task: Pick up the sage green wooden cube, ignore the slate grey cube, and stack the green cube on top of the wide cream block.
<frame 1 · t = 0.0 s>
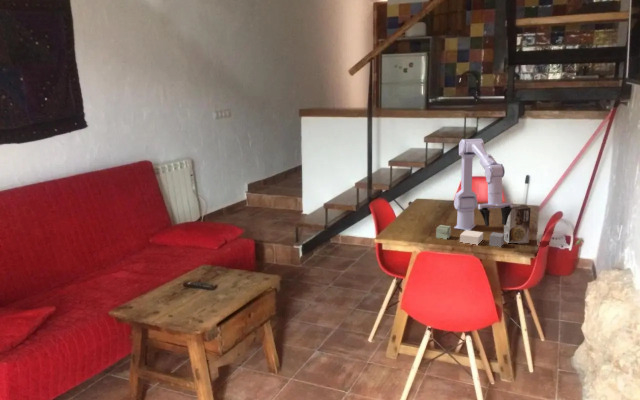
hand: (495, 225, 214), 11 cm above the table, tool pointing down, fingers open, 7 cm apart
grey cube: (496, 245, 221), on the table
green cube: (443, 237, 234), on the table
coffee box: (515, 241, 225), on the table
cream base block: (471, 242, 227), on the table
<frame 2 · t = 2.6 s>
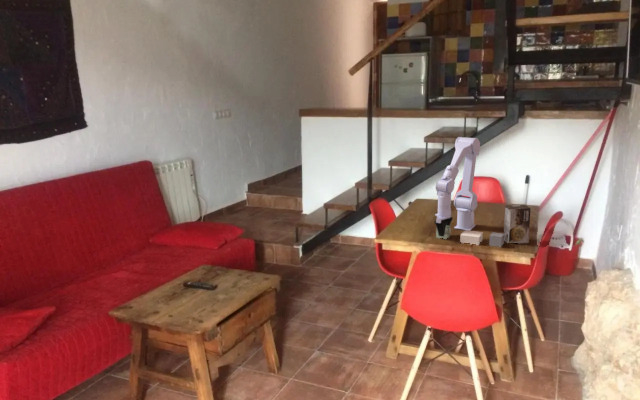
hand: (443, 234, 233), 1 cm above the table, tool pointing down, fingers closed on green cube, 5 cm apart
green cube: (443, 237, 234), on the table, touching gripper
everything else where it was.
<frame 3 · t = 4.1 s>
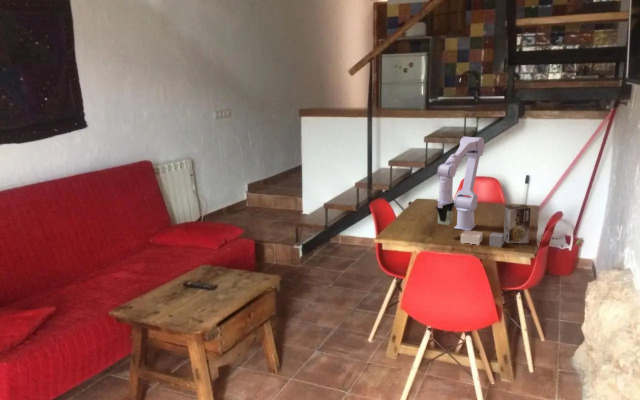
hand: (444, 219, 231), 8 cm above the table, tool pointing down, fingers closed on green cube, 5 cm apart
green cube: (444, 222, 232), point 7 cm above the table, touching gripper
everything else where it was.
when the fingers open (6 cm above the table, at t = 5.8 s): green cube drops 1 cm, resting on cream base block.
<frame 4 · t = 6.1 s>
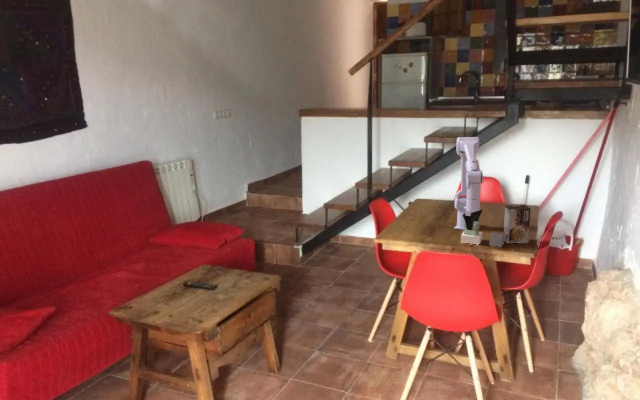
hand: (472, 227, 225), 6 cm above the table, tool pointing down, fingers open, 7 cm apart
green cube: (471, 233, 226), point 4 cm above the table, touching cream base block
cream base block: (471, 242, 227), on the table, touching green cube
everything else where it was.
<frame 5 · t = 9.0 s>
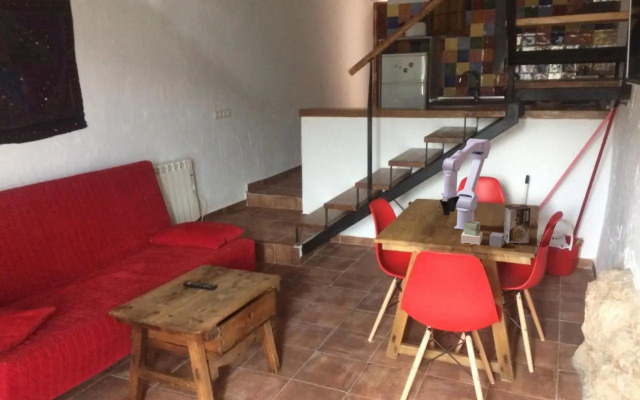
hand: (449, 213, 234), 10 cm above the table, tool pointing down, fingers open, 7 cm apart
nothing on the table moved.
at the end: green cube 0.1 cm off-centre on the cream base block, point 4.0 cm above the cream base block's base; green cube tilted 0°; green cube touching cream base block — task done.
